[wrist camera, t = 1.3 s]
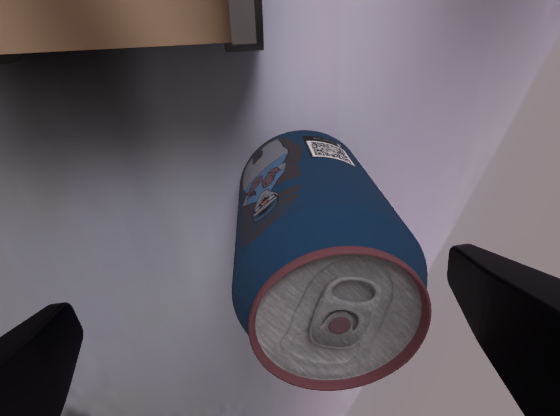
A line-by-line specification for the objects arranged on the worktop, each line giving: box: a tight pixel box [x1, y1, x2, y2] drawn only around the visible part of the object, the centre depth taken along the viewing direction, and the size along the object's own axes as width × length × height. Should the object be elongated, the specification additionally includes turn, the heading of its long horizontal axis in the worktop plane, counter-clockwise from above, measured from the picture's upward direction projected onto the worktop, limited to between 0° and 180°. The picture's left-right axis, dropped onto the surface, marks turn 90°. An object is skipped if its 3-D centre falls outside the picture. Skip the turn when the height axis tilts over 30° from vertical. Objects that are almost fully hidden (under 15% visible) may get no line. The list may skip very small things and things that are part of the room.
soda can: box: [232, 130, 431, 391], centre depth 17 cm, size 7×7×12 cm
